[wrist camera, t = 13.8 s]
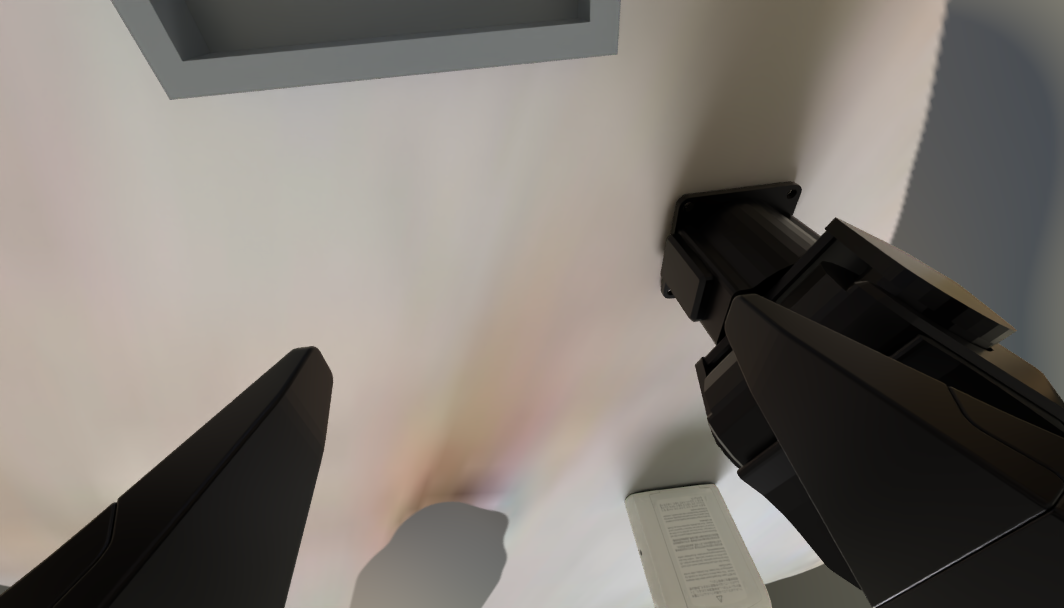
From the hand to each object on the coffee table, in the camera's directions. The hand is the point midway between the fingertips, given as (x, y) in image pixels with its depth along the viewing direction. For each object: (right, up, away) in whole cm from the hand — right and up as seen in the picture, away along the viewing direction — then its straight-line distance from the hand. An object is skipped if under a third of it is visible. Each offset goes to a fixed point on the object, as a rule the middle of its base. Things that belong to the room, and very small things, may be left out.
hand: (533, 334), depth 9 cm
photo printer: (+15, -20, +35) cm, 43 cm away
